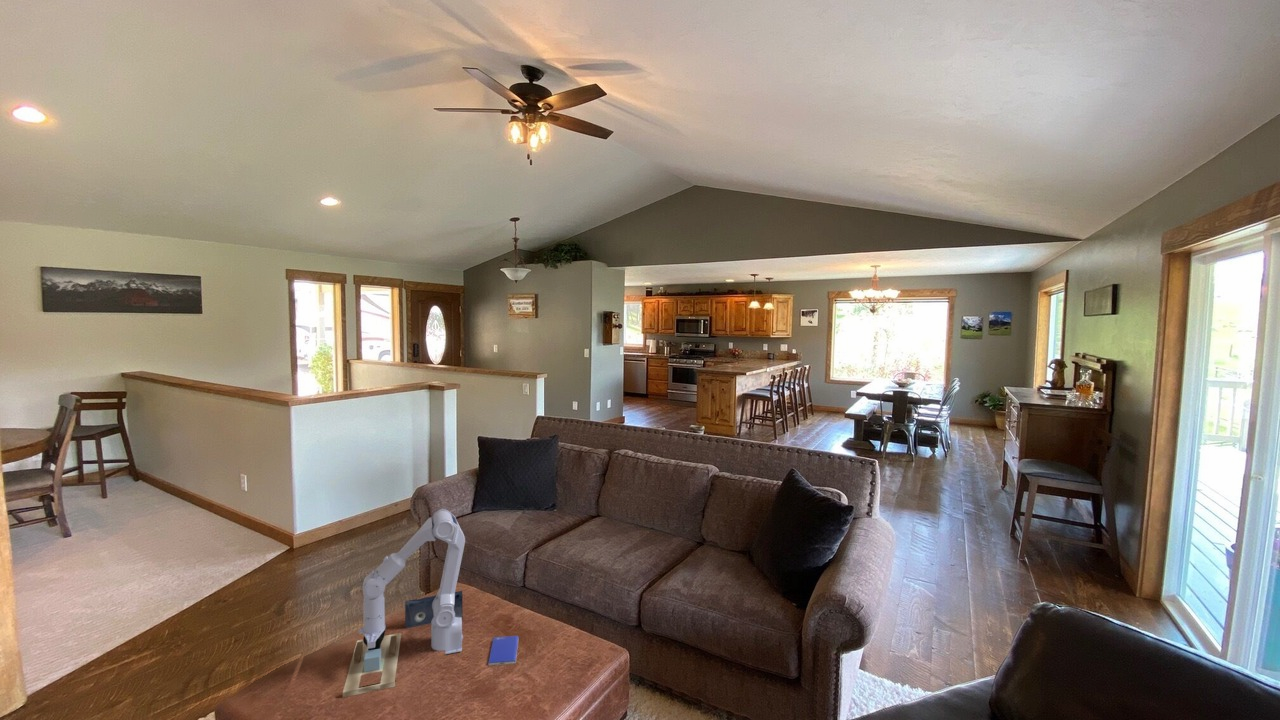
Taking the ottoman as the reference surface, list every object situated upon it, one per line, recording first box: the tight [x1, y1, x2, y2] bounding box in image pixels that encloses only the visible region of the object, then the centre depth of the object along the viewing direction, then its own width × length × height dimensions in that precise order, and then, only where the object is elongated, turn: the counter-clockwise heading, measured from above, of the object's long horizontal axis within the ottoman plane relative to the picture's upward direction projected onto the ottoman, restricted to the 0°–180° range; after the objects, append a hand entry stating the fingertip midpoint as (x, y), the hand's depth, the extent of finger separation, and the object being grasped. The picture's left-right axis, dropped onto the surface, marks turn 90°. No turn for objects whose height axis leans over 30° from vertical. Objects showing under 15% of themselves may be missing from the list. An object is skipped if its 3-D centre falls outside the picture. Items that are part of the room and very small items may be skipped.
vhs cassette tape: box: [404, 590, 464, 629], centre depth 175 cm, size 18×3×10 cm, turn 114°
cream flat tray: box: [342, 632, 402, 698], centre depth 154 cm, size 13×24×4 cm, turn 21°
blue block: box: [364, 648, 381, 672], centre depth 152 cm, size 4×4×4 cm
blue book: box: [487, 635, 519, 667], centre depth 163 cm, size 2×8×12 cm
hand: (374, 656), depth 155 cm, fingers closed
